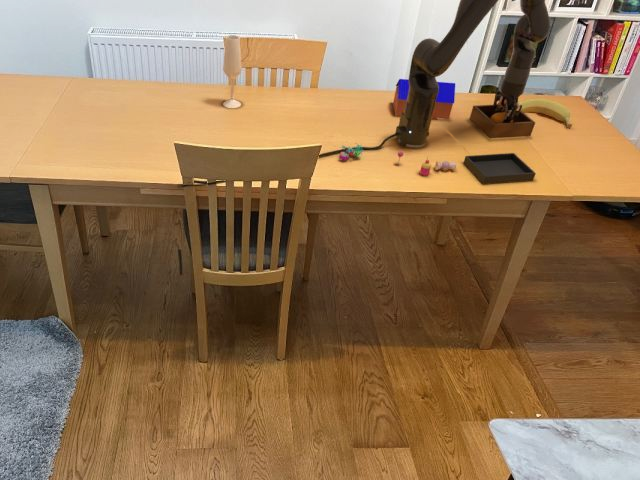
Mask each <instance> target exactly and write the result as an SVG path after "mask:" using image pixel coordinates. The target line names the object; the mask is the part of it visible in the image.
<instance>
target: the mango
mask: <svg viewBox="0 0 640 480" xmlns="http://www.w3.org/2000/svg"><path fill="white" fill-rule="evenodd" d="M509 115H510V113H508V116H509ZM490 119H491V120H492V121H493V122H494V123H495V124H497V123H503V121H504V119H505V113H495V114H494V115H492V117H491V118H490ZM510 123H513V120H511V121H510Z"/></svg>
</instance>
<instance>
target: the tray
mask: <svg viewBox="0 0 640 480" xmlns="http://www.w3.org/2000/svg"><path fill="white" fill-rule="evenodd" d="M463 165H464V166H465V167H466V168H467V169H468V170H469V171H470V172H471V173H472V174H473V175H474V176H475V178H476V179H477V180H478V181H479V183H481V184H482V185H490V184H504V183H515V182H516V183H517V182H519V183H520V182H531V181H532V182H533V181H534V179H535V177H536V172H535V171H534V170H533V169H532V168H531V167H530V166H529V165H528V164H527V163H525V162H524V161H523V159H521V158H520V157H519V156H518V155H517V154H516V153H514V152H508V153H506V152H505V153H491V154H477V155H465V157H464V159H463Z"/></svg>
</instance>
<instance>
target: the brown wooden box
mask: <svg viewBox="0 0 640 480" xmlns="http://www.w3.org/2000/svg"><path fill="white" fill-rule="evenodd" d="M508 110H512V109H508ZM501 112H502V113H504V110H503V111H501ZM494 114H495V108H493V104H479V105H473V106H472V109H471V112H470V115H469V120H470V121H471V122H472V123H473V124H474V125H475V126H476V127H477V128H479V130H480V131H482V132H483V133H484V135H486V136H487V137H488V138H489V139H501V138H502V139H503V138H517V137H531V136H532V133H533V130H534V128H535V125H536V121H535V120H534V119H532V118H531V117H530V116H528V115H527V114H526V113H525V112H522V111H520V112H519V114H518V116H517V118H516V120H513V123H497V124H495V123H494V122H493V121H492V120H491V119H490V118H491V117H492V115H494ZM513 117H514V115H513Z"/></svg>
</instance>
